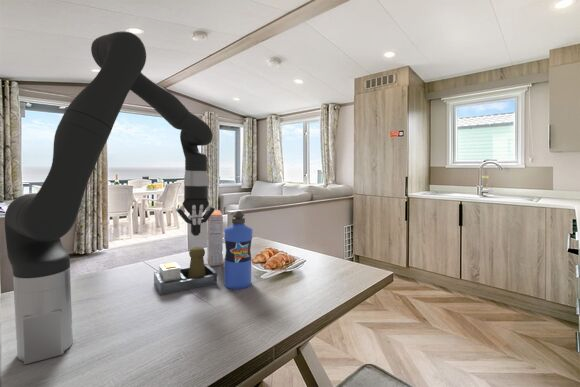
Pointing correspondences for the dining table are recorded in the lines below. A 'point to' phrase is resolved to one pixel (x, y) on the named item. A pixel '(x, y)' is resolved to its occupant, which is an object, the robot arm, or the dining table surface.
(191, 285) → the gray desk organizer
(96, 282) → the dining table surface
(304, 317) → the dining table surface
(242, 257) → the water bottle
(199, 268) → the cork
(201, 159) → the robot arm
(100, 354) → the dining table surface
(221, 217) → the cracker box
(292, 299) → the dining table surface
